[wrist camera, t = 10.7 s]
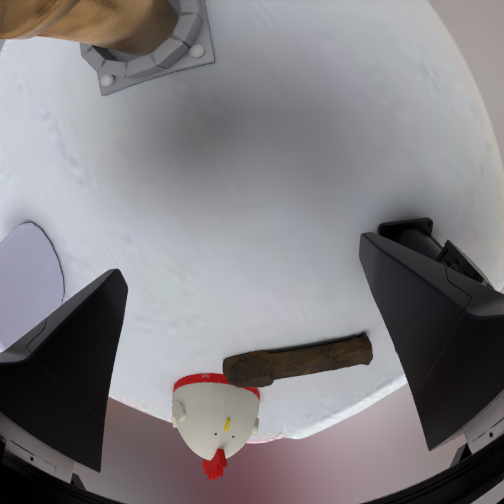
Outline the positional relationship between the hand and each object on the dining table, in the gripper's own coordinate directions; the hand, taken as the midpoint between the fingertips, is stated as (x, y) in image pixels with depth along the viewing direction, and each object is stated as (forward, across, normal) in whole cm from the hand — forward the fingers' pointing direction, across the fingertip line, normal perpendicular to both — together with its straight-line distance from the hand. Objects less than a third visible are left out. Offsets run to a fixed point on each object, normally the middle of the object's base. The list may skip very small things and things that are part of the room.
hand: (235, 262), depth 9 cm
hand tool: (+14, -3, +24) cm, 28 cm away
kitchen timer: (+13, +10, +34) cm, 38 cm away
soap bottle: (+13, +26, +6) cm, 30 cm away
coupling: (+12, +5, -13) cm, 18 cm away
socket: (+13, +5, -13) cm, 19 cm away
